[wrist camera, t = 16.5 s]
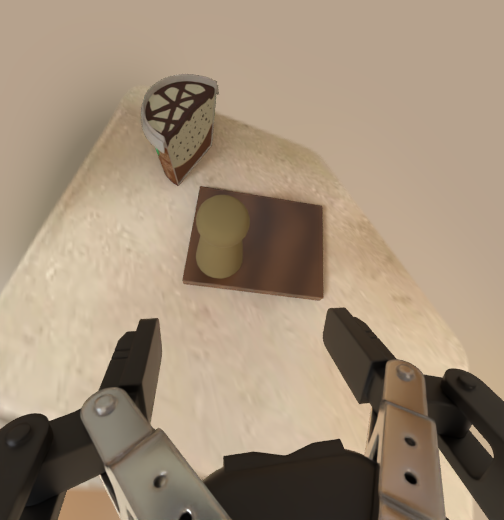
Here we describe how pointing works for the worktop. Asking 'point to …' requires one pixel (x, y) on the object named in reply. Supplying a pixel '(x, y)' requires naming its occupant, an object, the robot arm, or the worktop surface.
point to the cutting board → (269, 248)
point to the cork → (221, 235)
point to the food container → (180, 121)
